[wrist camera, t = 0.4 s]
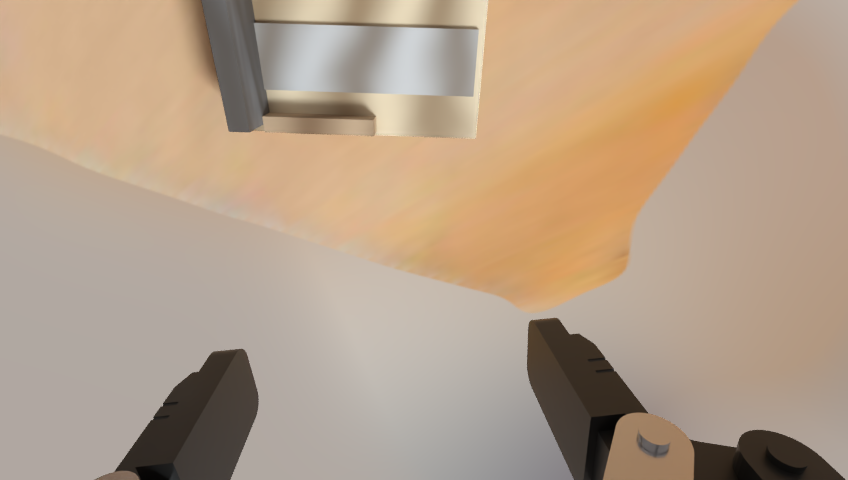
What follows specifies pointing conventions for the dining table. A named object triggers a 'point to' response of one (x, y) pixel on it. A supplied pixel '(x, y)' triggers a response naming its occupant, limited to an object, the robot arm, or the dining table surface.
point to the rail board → (349, 65)
